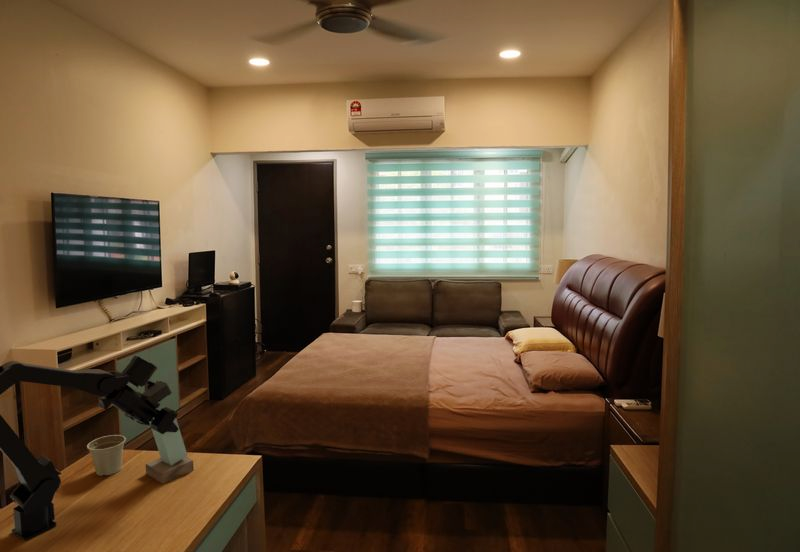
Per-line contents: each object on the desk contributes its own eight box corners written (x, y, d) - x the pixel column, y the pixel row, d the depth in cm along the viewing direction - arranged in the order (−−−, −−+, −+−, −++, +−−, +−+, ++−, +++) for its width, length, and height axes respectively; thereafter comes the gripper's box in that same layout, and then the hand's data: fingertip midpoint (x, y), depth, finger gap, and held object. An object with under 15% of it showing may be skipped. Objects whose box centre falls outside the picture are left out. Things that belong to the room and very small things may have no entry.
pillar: (171, 465, 135) (158, 425, 132) (161, 460, 138) (148, 421, 135) (187, 455, 139) (175, 415, 135) (177, 450, 142) (165, 411, 138)
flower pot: (109, 481, 133) (107, 450, 132) (80, 477, 135) (78, 447, 134) (135, 464, 142) (133, 436, 141) (107, 461, 144) (105, 433, 143)
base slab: (162, 483, 132) (162, 473, 131) (146, 473, 137) (145, 463, 137) (193, 470, 139) (193, 460, 139) (176, 461, 144) (176, 451, 144)
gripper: (169, 381, 126) (208, 410, 136) (133, 369, 137) (173, 396, 147) (139, 420, 121) (183, 447, 131) (105, 404, 132) (148, 430, 141)
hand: (172, 428), depth 138 cm, fingers closed on pillar, 5 cm apart
